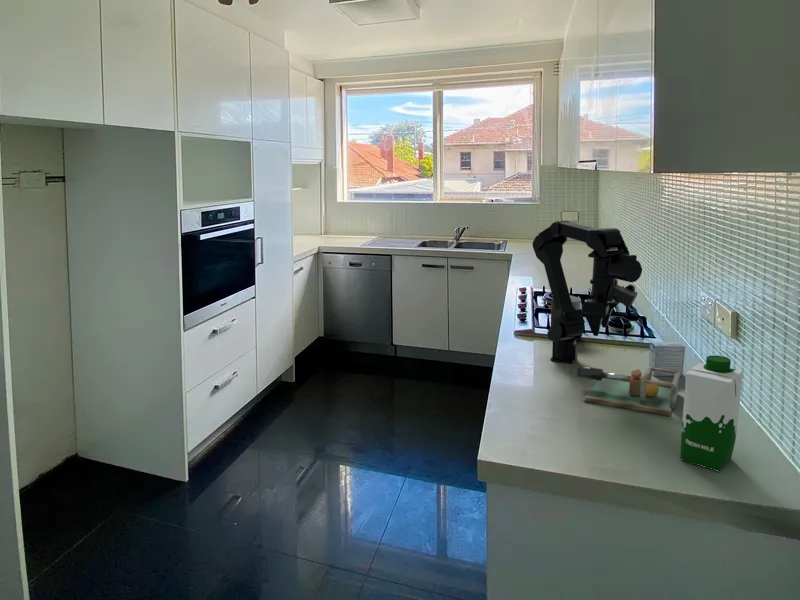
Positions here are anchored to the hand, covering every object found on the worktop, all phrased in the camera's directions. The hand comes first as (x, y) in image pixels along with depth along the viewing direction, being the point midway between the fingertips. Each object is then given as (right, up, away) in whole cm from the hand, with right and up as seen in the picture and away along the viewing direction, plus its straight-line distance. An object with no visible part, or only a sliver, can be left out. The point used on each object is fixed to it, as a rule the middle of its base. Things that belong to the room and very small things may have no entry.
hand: (600, 331), depth 152 cm
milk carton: (+4, -23, -44) cm, 50 cm away
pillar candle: (+2, -4, +39) cm, 40 cm away
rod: (-1, -15, -9) cm, 17 cm away
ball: (+7, -13, -15) cm, 21 cm away
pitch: (+4, -15, -12) cm, 20 cm away
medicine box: (+19, -12, +2) cm, 22 cm away
